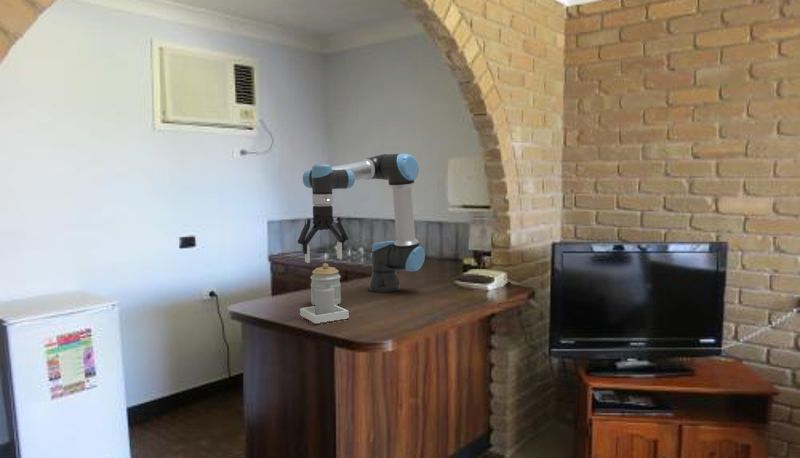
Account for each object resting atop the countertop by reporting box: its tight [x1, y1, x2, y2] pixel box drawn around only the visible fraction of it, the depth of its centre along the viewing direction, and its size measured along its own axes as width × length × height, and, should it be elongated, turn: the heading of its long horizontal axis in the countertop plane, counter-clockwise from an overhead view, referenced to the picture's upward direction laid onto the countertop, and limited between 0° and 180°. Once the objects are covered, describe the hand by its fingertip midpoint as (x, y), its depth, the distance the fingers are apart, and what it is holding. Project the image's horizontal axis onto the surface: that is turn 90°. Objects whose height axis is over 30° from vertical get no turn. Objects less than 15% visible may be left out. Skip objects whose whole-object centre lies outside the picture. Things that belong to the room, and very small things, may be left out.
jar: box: [310, 262, 342, 306], centre depth 233 cm, size 13×13×18 cm
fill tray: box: [299, 304, 350, 323], centre depth 211 cm, size 14×14×4 cm
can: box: [315, 284, 334, 315], centre depth 210 cm, size 8×8×12 cm
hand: (323, 260), depth 209 cm, fingers open, 13 cm apart
